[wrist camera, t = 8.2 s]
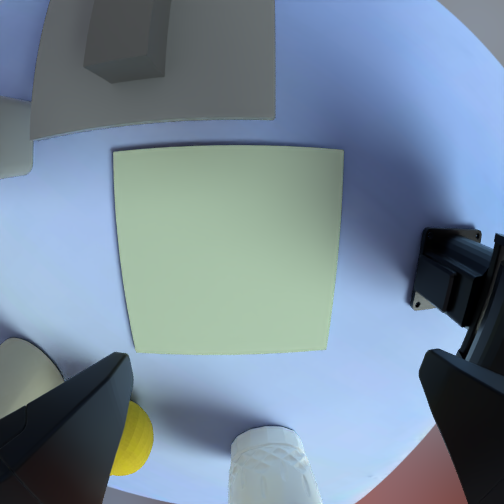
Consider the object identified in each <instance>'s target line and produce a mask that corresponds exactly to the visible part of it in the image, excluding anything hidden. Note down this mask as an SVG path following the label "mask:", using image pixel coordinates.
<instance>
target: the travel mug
mask: <svg viewBox="0 0 504 504" xmlns="http://www.w3.org/2000/svg"><path fill="white" fill-rule="evenodd" d="M63 382H64V380H63V378H62V376H61V374H60V372H59V371H58V369H57V368H56V366H55V365H54V364H53V362H52V361H51V360H50V359H49V358H48V357H47V356H46V355H45V354H44V353H43V352H42V351H41V350H39V349H38V348H37V347H35V346H34V345H32V344H31V343H29V342H27V341H25V340H22V339H19V338H9V339H7V340H5V341H4V342H3V343H2V344H1V345H0V419H1V418H3V417H5V416H6V415H8V414H10V413H12V412H14V411H16V410H17V409H19V408H21V407H22V406H24V405H25V406H26V405H27V404H28V403H29V402H31V401H33V400H35V399H36V398H38V397H40V396H41V395H43V394H45V393H46V392H48V391H50V390H52V389H53V388H55V387H57V386H58V385H60V384H62V383H63Z"/></svg>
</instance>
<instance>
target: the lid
mask: <svg viewBox="0 0 504 504" xmlns="http://www.w3.org/2000/svg"><path fill="white" fill-rule="evenodd" d="M274 119H275V0H50V2H49V6H48V10H47V13H46V17H45V21H44V25H43V30H42V34H41V39H40V44H39V49H38V55H37V61H36V67H35V74H34V82H33V91H32V101H31V115H30V141H40V140H44V139H49V138H54V137H58V136H64V135H69V134H74V133H80V132H86V131H92V130H99V129H106V128H113V127H121V126H130V125H139V124H149V123H161V122H176V121H195V120H274Z"/></svg>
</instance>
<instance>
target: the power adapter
mask: <svg viewBox="0 0 504 504" xmlns="http://www.w3.org/2000/svg"><path fill="white" fill-rule="evenodd" d="M30 115H31V102H30V101H25V100H20V99H15V98H11V97H5V96H0V179H4V178H10V177H17V176H23V175H27V174H29V173H30V171H31V170H32V166H33V141H30Z"/></svg>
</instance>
